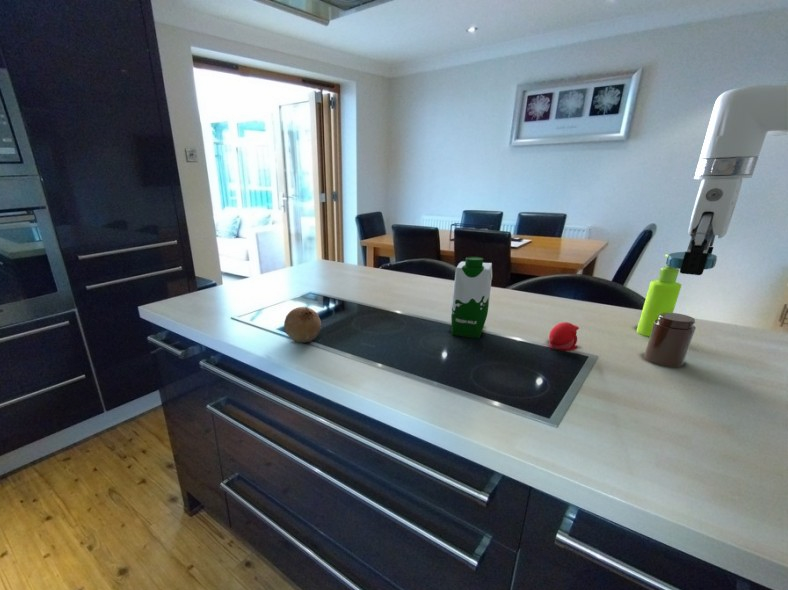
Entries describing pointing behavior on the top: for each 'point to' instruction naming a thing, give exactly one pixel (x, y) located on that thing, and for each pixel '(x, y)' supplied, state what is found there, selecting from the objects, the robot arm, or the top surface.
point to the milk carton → (471, 297)
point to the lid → (677, 258)
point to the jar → (670, 339)
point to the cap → (563, 337)
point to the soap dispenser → (659, 298)
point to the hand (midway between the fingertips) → (693, 269)
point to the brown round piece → (302, 324)
